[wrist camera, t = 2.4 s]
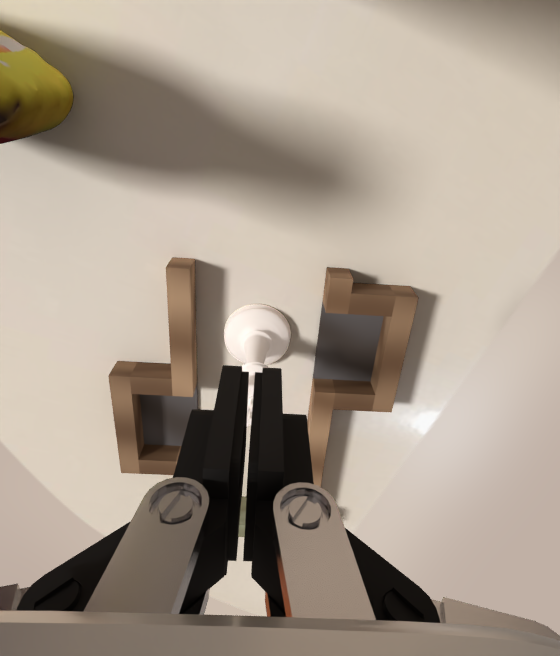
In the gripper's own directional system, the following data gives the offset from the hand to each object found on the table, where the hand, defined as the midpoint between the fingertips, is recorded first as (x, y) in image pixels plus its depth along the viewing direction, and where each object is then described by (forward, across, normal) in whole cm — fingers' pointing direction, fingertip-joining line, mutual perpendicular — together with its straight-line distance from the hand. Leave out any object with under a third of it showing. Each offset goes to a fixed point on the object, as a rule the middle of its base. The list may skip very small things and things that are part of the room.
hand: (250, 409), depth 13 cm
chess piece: (+18, 0, +7) cm, 20 cm away
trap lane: (+18, 0, +14) cm, 23 cm away
